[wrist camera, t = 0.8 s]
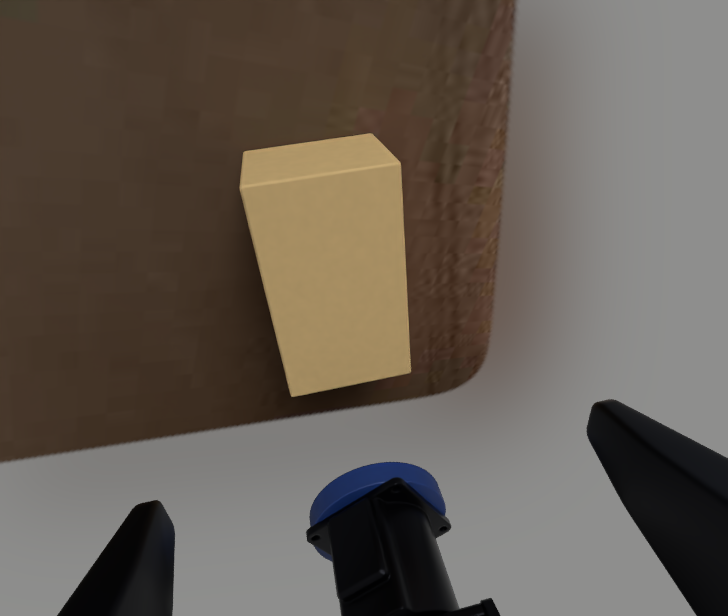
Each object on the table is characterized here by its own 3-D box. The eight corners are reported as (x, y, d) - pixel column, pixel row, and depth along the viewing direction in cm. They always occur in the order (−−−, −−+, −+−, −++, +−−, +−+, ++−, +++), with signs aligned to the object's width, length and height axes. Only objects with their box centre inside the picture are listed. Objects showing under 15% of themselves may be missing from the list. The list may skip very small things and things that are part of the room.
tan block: (387, 317, 21) (411, 373, 17) (285, 335, 20) (291, 398, 17) (372, 132, 16) (401, 161, 13) (242, 151, 16) (238, 186, 13)
